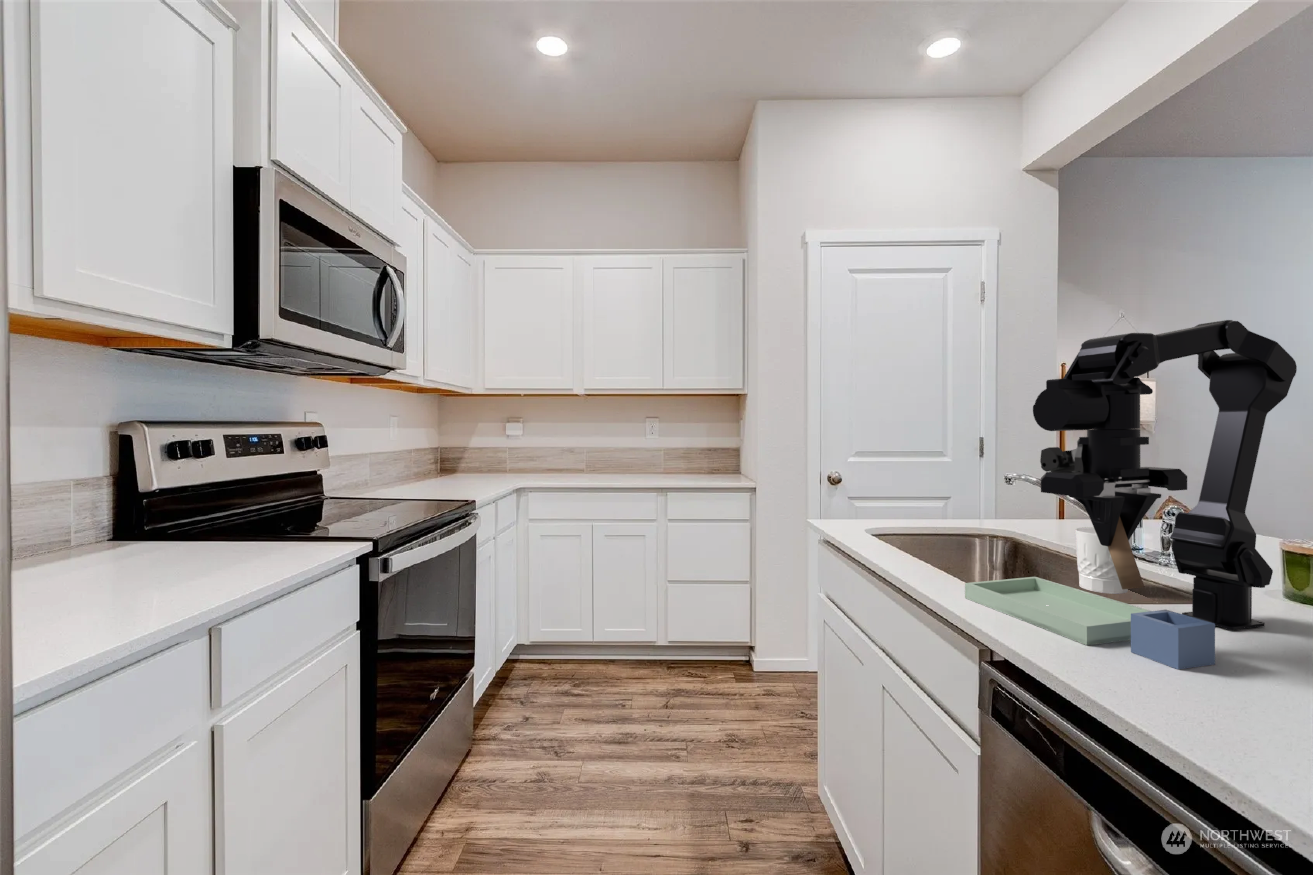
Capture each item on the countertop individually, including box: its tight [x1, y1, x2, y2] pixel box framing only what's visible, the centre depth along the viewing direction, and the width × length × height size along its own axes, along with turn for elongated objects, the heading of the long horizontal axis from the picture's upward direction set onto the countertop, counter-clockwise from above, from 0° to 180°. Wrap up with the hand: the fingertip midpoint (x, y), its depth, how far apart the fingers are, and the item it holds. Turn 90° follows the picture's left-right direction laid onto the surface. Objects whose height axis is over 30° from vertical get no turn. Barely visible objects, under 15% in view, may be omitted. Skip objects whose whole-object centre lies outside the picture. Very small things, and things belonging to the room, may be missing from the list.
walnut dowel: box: [1108, 517, 1145, 590], centre depth 80 cm, size 2×6×10 cm, turn 15°
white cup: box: [1074, 526, 1133, 595], centre depth 103 cm, size 8×8×10 cm
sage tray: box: [964, 576, 1151, 646], centre depth 91 cm, size 14×22×2 cm, turn 13°
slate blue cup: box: [1130, 609, 1216, 670], centre depth 74 cm, size 6×6×5 cm
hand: (1113, 544), depth 81 cm, fingers closed on walnut dowel, 2 cm apart
